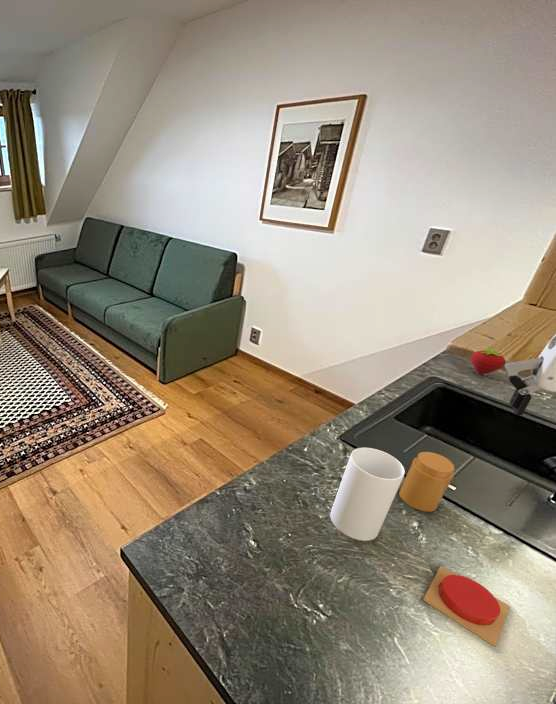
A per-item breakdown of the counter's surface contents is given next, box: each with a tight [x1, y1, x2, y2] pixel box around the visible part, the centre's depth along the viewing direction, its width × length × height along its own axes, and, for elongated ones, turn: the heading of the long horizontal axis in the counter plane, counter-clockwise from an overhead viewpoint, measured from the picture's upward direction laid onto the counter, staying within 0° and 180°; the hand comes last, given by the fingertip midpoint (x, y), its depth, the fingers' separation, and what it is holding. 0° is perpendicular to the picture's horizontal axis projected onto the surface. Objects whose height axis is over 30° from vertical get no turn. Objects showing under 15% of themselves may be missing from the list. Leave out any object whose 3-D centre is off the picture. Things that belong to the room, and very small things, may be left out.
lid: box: [438, 574, 500, 625], centre depth 65 cm, size 7×7×2 cm
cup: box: [329, 447, 406, 542], centre depth 76 cm, size 8×8×16 cm
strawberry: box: [470, 346, 506, 376], centre depth 120 cm, size 6×8×10 cm
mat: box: [422, 565, 511, 648], centre depth 65 cm, size 9×9×1 cm
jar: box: [398, 451, 456, 513], centre depth 81 cm, size 6×6×11 cm
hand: (555, 418), depth 66 cm, fingers open, 9 cm apart
